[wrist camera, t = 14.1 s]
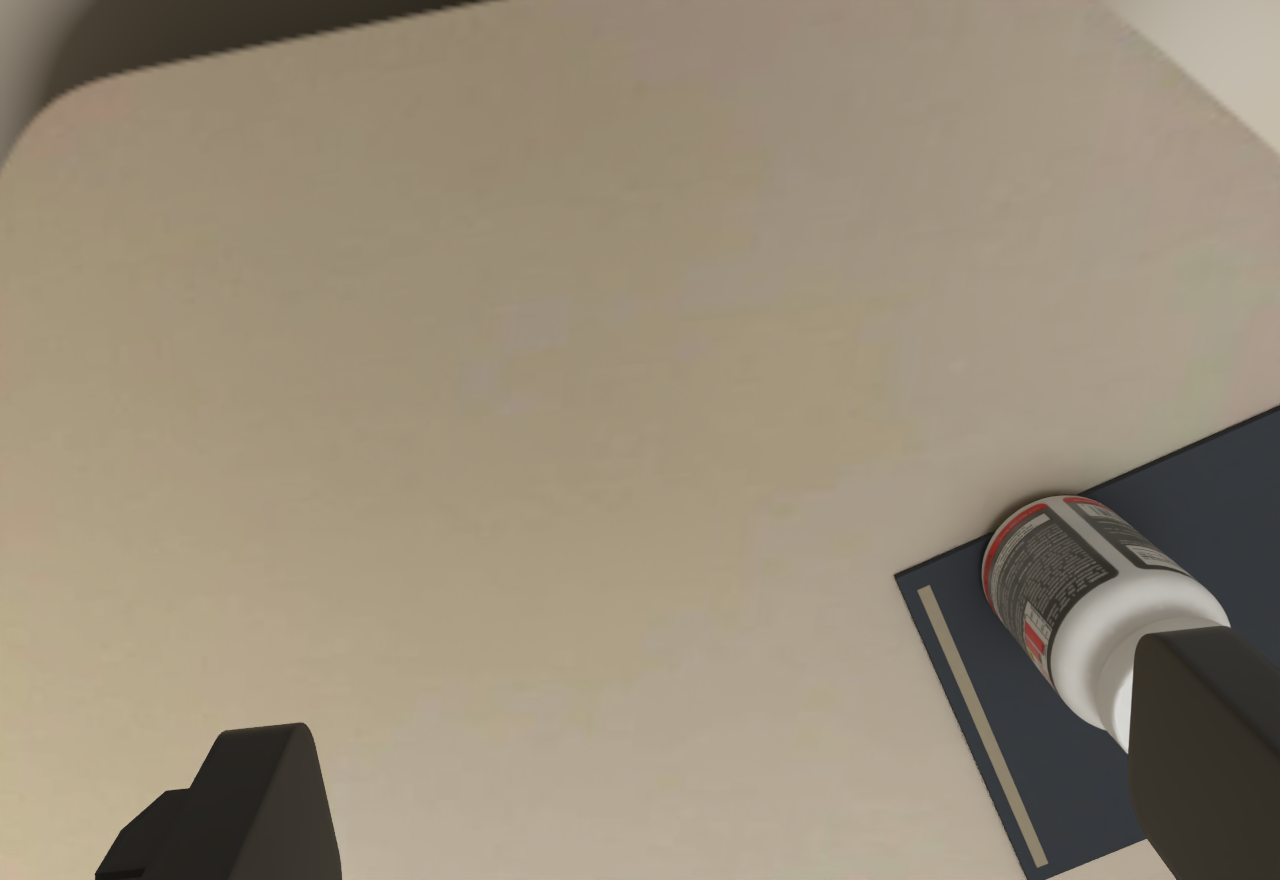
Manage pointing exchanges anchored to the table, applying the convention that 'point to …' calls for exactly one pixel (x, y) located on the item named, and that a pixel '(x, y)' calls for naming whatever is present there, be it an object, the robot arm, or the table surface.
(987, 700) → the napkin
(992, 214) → the table surface
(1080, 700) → the pill bottle
